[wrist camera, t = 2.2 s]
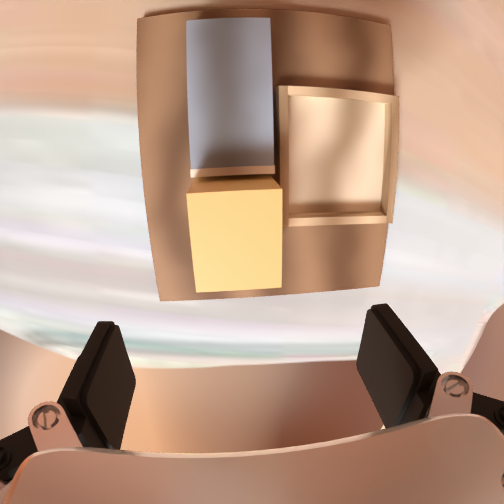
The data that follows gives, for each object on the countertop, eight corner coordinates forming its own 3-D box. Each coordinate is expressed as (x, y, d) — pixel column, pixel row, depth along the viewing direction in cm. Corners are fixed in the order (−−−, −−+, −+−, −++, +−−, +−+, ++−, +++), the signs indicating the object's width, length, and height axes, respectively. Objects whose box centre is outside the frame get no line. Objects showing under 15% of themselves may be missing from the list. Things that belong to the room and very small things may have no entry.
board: (384, 28, 22) (406, 17, 18) (374, 280, 32) (391, 301, 28) (140, 22, 20) (127, 7, 17) (162, 295, 31) (154, 319, 27)
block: (268, 173, 26) (282, 189, 20) (269, 252, 28) (281, 287, 22) (195, 177, 25) (186, 193, 19) (201, 255, 28) (196, 292, 22)
